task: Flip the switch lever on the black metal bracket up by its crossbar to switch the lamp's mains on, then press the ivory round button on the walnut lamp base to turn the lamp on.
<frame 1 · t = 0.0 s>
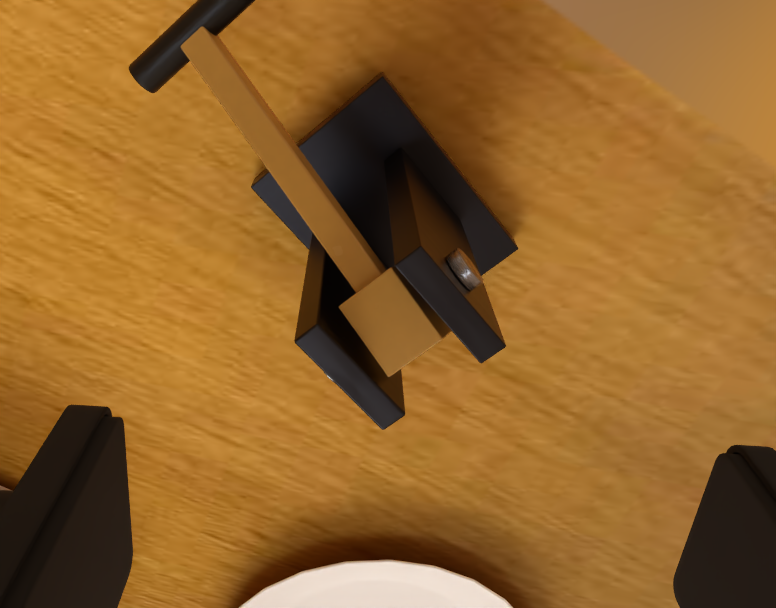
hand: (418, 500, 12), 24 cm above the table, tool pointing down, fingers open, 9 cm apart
switch lever: (300, 182, 25), point 9 cm above the table, hinge at -25.0°
switch bracket: (387, 210, 35), on the table
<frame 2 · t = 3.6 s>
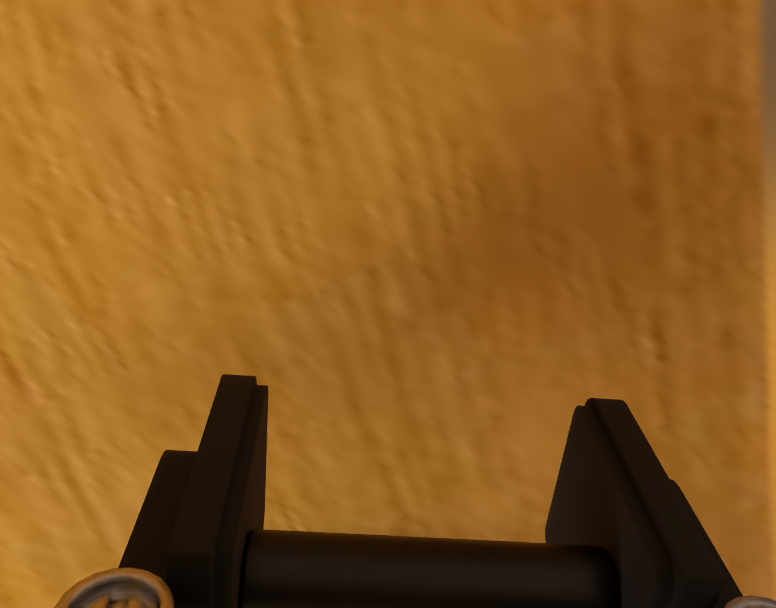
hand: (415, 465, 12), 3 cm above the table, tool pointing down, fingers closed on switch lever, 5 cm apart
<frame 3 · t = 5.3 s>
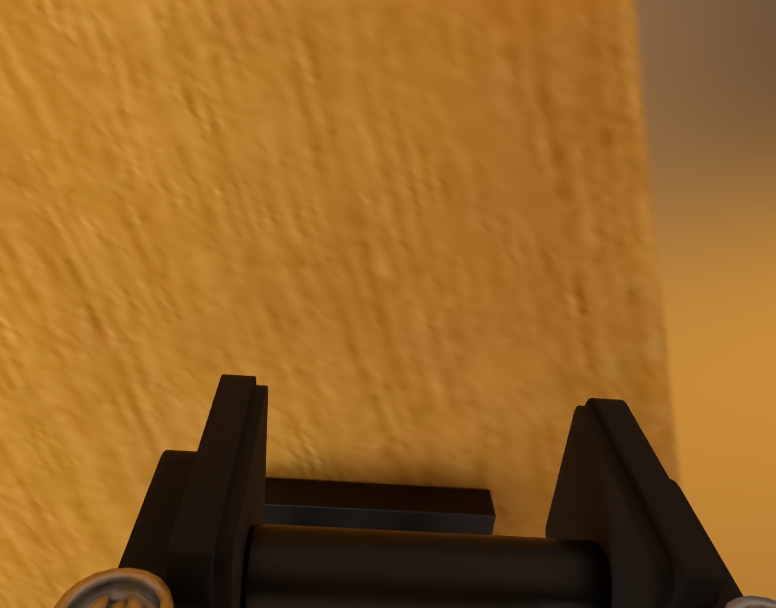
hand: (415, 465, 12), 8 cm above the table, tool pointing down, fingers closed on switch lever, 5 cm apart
switch bracket: (358, 600, 25), on the table
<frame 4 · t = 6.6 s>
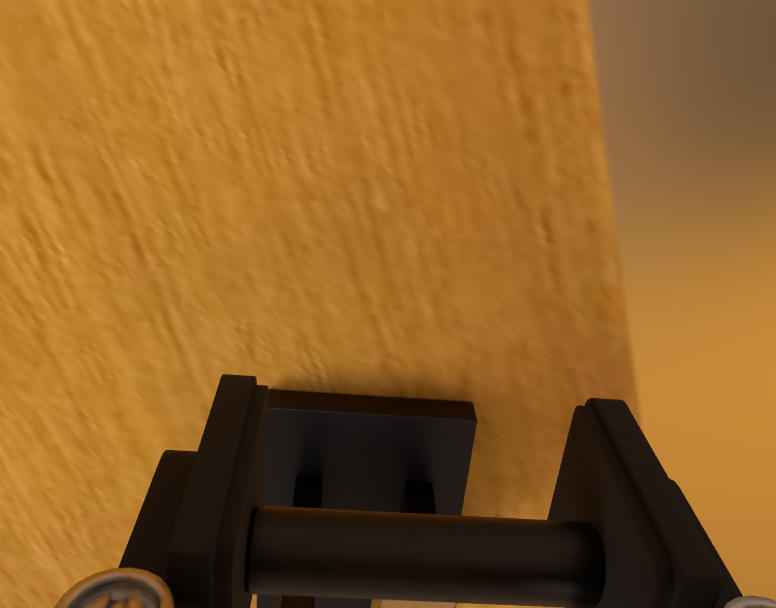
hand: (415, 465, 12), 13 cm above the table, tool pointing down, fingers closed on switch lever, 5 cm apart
switch bracket: (359, 505, 29), on the table
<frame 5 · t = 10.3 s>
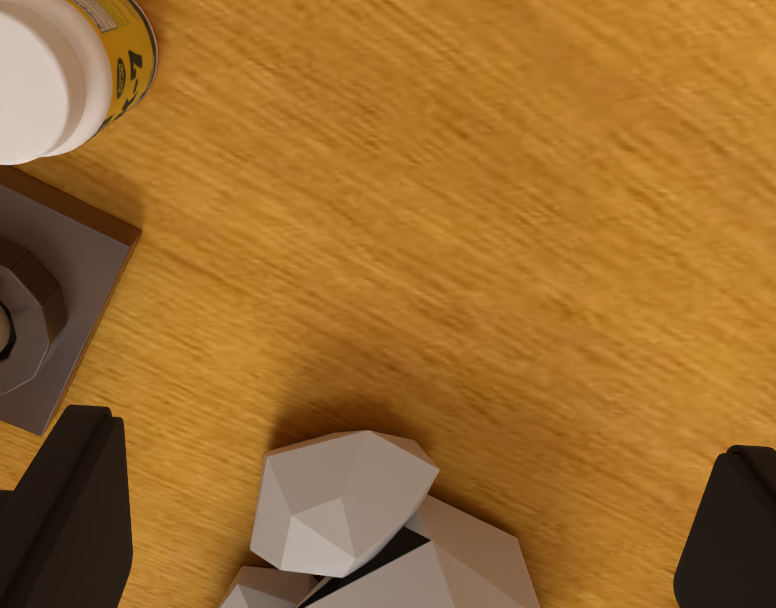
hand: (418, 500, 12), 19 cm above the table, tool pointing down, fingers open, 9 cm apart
lamp base: (2, 285, 30), on the table
rock: (390, 561, 38), on the table
supplement bottle: (95, 45, 26), on the table
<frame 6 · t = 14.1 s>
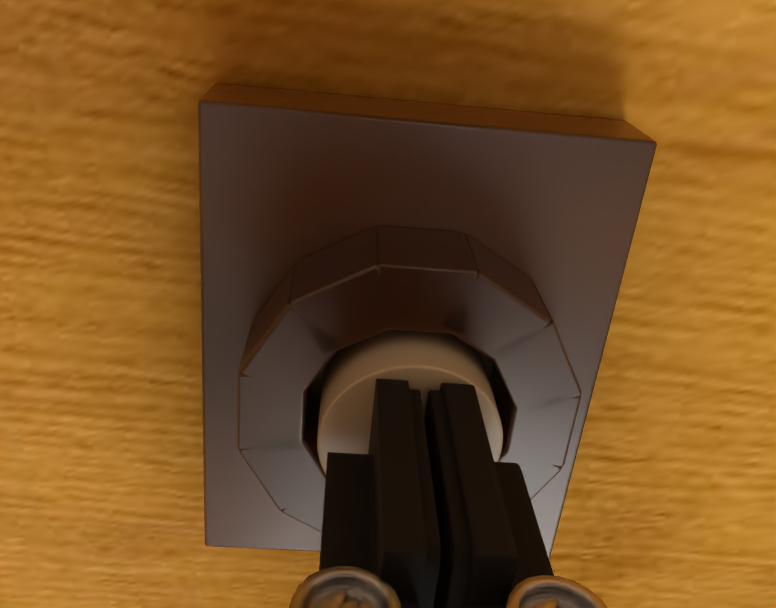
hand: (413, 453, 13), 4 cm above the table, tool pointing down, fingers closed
lamp base: (398, 330, 16), on the table
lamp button: (407, 416, 13), point 3 cm above the table, slide at -0.6 cm, touching gripper
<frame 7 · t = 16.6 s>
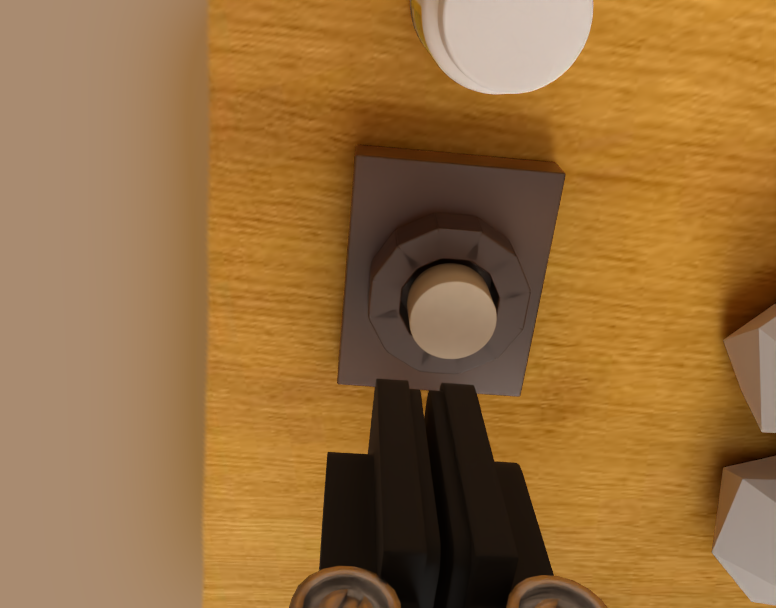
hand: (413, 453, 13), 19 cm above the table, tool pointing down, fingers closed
lamp base: (440, 269, 31), on the table
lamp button: (450, 310, 28), point 4 cm above the table, slide at 0.1 cm
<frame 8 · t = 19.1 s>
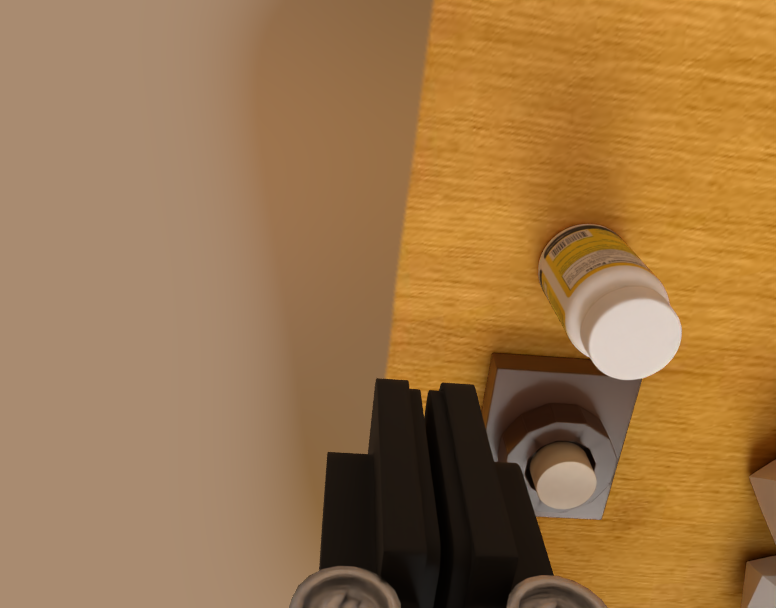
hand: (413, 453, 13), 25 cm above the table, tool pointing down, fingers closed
lamp base: (545, 430, 43), on the table
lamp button: (562, 475, 40), point 4 cm above the table, slide at 0.1 cm
supplement bottle: (580, 262, 39), on the table
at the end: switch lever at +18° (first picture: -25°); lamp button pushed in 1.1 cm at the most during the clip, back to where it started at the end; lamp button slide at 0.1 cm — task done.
